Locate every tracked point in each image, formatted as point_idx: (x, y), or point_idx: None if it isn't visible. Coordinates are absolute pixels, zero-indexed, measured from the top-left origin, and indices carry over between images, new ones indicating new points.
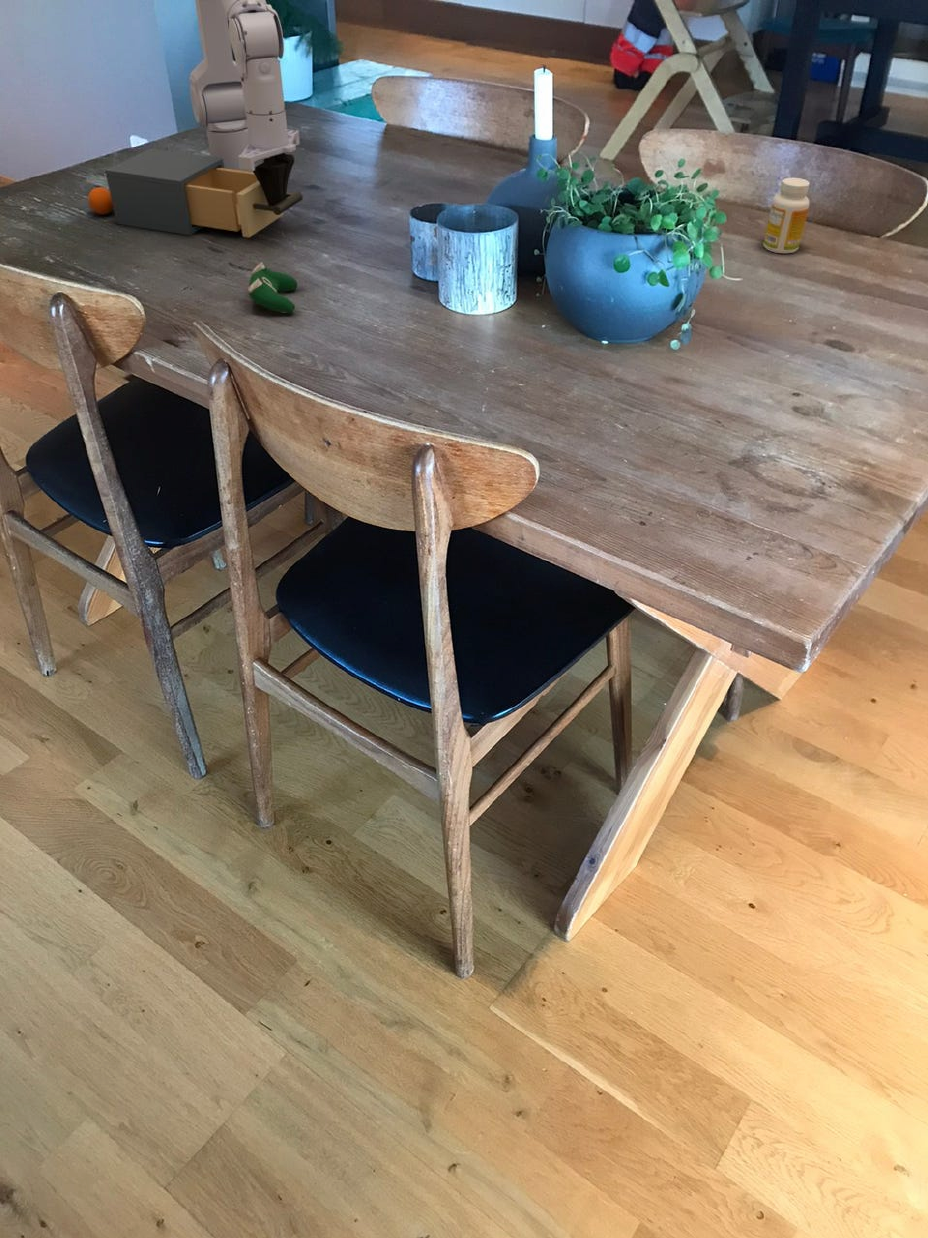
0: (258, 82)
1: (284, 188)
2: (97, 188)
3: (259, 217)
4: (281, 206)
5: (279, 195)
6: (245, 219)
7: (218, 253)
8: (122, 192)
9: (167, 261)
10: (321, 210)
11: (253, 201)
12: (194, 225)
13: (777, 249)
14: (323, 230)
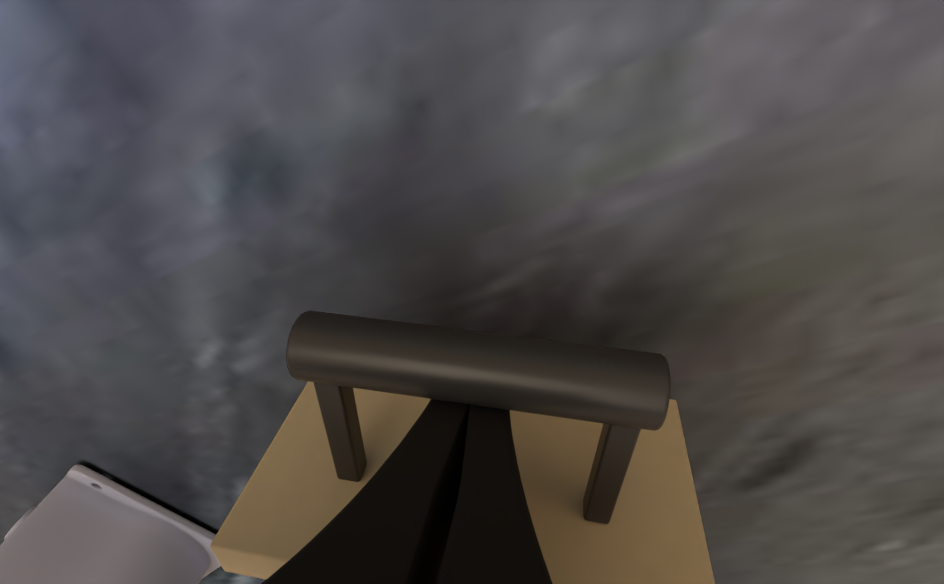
0: None
1: (439, 468)
2: None
3: (551, 432)
4: (632, 384)
5: (515, 454)
6: (692, 485)
7: (818, 450)
8: None
9: (915, 560)
10: (127, 225)
11: (595, 535)
12: None
13: None
14: (353, 91)
